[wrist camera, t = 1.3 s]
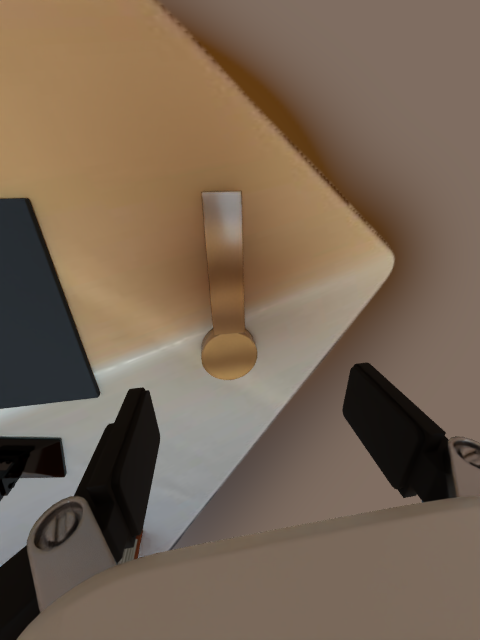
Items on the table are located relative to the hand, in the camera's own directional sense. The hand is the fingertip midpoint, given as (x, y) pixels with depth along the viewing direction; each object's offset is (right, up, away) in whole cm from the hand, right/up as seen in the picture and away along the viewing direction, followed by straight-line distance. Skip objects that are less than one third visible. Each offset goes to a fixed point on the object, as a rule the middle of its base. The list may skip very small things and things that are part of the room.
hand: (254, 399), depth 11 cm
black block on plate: (-29, -13, +18) cm, 37 cm away
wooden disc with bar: (-2, +6, +13) cm, 15 cm away
